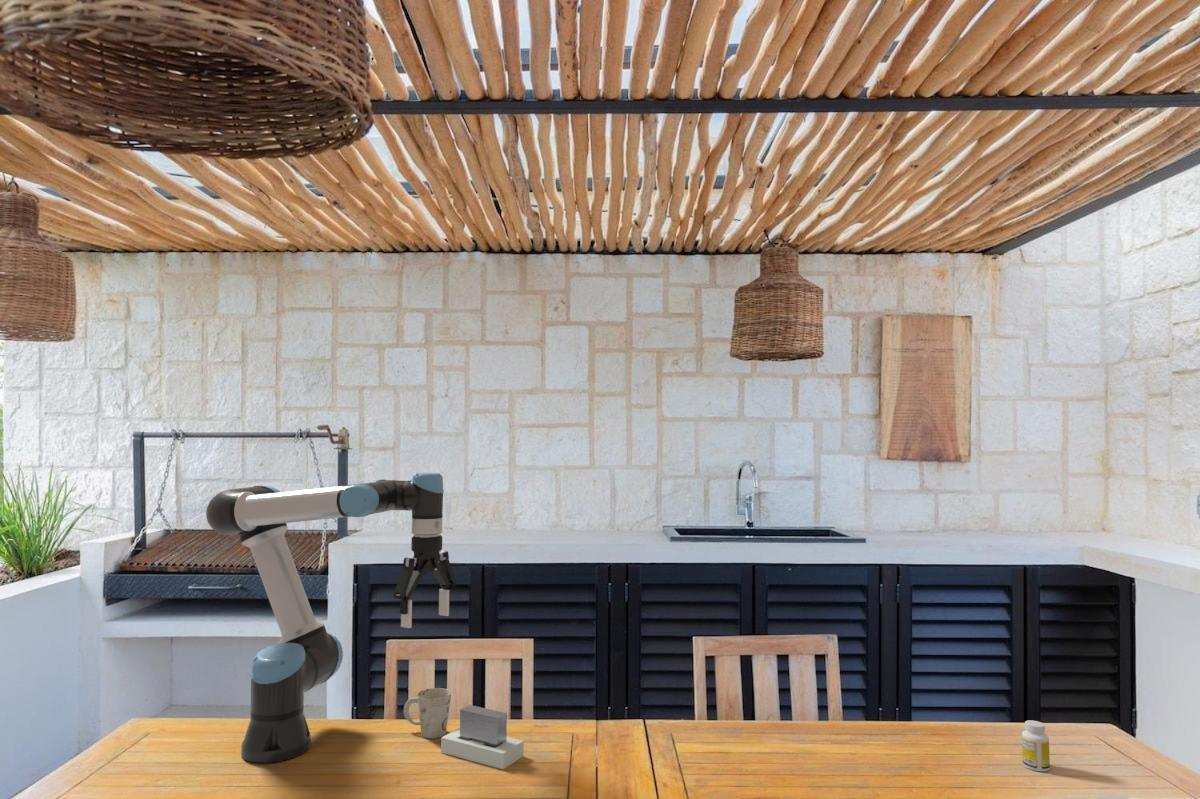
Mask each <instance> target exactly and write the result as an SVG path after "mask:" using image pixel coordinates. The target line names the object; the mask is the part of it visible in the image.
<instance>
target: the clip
mask: <svg viewBox="0 0 1200 799" xmlns="http://www.w3.org/2000/svg"><path fill="white" fill-rule="evenodd" d="M459 713H460V714H459V728H460V735H461V739H462V740H466V741H470V740H472V739H476V740H480V741H484V742H487V746H489V747H493V748H496V747H498V746H499V745H501V744H503V743H504V742H505V740H506V739H507V737H508V735H507V733H508V732H507V731H508V730H507V729H508V728H507V726H508V725H507V724H508V723H507V722H508V721H507V720H508V719H507V718H508V713H507V712H503V711H499V710H495V709H490V708H487V707H486V708H485V707H481V706H477V705H472V704H468V705H466V706H464V707H462V708H460V710H459Z"/></svg>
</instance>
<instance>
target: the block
mask: <svg viewBox="0 0 1200 799" xmlns="http://www.w3.org/2000/svg"><path fill="white" fill-rule="evenodd" d="M440 738H441V739H440V740H441V742H440V743H441V745H440V753H441V754H445V755H449V756H452V757H456V758H460V759H463V760H467V761H471V762H474V763H478V764H481V765H485V766H489V767H492V768H497V769H500V770H505V769H506V768H508V767H510V766H511V765H512V764H514V763H515V762H517V761H518V760H520V759H522V758H523V757H524V746H525V744H524V740H521V739H518V738H514V737H510V736H507V739H506V740H505V742H504V743H503V744H501V745H499V746H498V747H496V748H493V747H489V746H487V742H484V741H480V740H476V739H472V740H470V741H466V740H462V739H461V735H460V727H458V728H456V729H455V730H453V731H451V732H449V733H447V734H445V735H444V736H442V737H440Z"/></svg>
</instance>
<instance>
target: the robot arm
mask: <svg viewBox="0 0 1200 799" xmlns="http://www.w3.org/2000/svg"><path fill="white" fill-rule="evenodd" d="M443 503H444V479H443V475H442V474H441V473H439V472H416V473H415V472H414V473H413V475H412V478H411V480H397V479H396V480H394V479H377V480H376V479H375V480H374V479H373V480H371V481H369V482H365V483H355V484H348V485H338V486H336V485H335V486H328V487H327V486H326V487H318V488H307V489H300V490H298V489H297V490H288V491H280V490H279V489H277V488H276V487H273V486H267V485H254V486H249V487H241V488H231V489H230V488H229V489H225V490H223V491H220V492H219V493H216V495H214V496H213V497H212V498H211V500H210V501H209V503H208V504H207V507H206V511H205V512H206V513H205V516H206V520H207V523H208V525H209V526H210V528H211V529H212V530H213V531H215V533H218V534H220V535H224V536H238V538H239V540H240V543H241V545H242V546H243V547H247V548H249V550H250V552H251V555H252V557H253V560H254V562H255V565H256V568H257V572H258V573H259V576H260V579H261V581H262V582H261V583H262V584H263V587H264V590H265V593H266V596H267V598H268V602H269V604H270V606H271V609H272V612H273V615H274V618H275V620H276V623H277V625H278V628H279V631H280V634H281V638H280V640H279V642H278V643H277V644H276V645H270V646H267V647H264V648H263V649H261V650H259V652H257V653H256V654H255V655H254V657H253V659H252V664H251V670H250V677H251V678H250V679H251V680H250V686H251V687H250V720H249V723H248V725H247V729H246V733H245V736H244V739H243V741H242V742H241V751H240V753H241V755H240V756H241V757H242V759H243V760H245V761H248V762H250V763H255V764H256V763H258V764H267V763H276V762H283V761H287V760H290V759H293V758H296V757H299V756H300V755H302V754H304V753H306V752H307V751H308V750H309V749H310V748H311V740H312V738H311V737H312V736H311V732H310V729H309V725H308V722H307V719H306V716H305V714H304V710H305V708H304V705H305V693H306V692H307V693H308V691H310V690H312V689H314V688H315V687H317V686H319V685H321V684H323V683H326V682H327V681H328V680H330V679H331V678H333V676H334V675H335V674H336V673H337V672H339V669H340V667H341V664H342V663H343V657H344V651H343V646H342V644H341V642H340V640H339V639H338V637H336V635H335V636H334V635H333V634H332V633H329V632H328V631H327V628H326V626H325V624H324V623H322V622H321V621H317V620H316V617H315V615H314V613H313V612H314V611H313V610H312V607H311V605H310V602H309V599H308V596H307V593H306V591H305V588H304V586H303V582H302V579H301V577H300V574H299V572H298V569H297V566H296V563H295V562H294V558H293V555H292V553H291V550H290V548H289V545H288V542H287V540H286V536H285V534H286V532H287V529H288V528H289V526H288V525H287V524H289V523H297V522H309V521H311V522H312V521H318V520H319V521H321V520H331V519H338V518H350V517H351V518H362V517H363V518H364V517H367V516H370V515H374V514H379V513H384V512H389V511H409V512H411V534H412V535H413V536H411V547H410V548H411V551H412V552H413V557H404V558H403V564H402V569H401V573H400V575H399V578H398V580H397V584H396V586H395V589H394V593H393V595H392V598H393V599H396V600H399V614H400V628H404V629H411V628H412V627H413V626H412V624H413V619H412V617H413V614H412V613H413V600H412V599H411V596H412V595H413V593H414V591H415V589H416V588H417V585H418V583H419V582H420V580H421V578H423V576H424V575H427V574H428V573H432V574H433V576H434V578H435V579H436V581H437V583H438V584H439V586H440V587H441V588H439V590H438V592H439V593H438V616H442V617H444V616H445V617H448V616H449V617H450V600H451V590H452V591H453V590H454V588H455V586H456V585H457V581H456V580H457V579H456V577H455V574H454V572H453V571H454V570H453V568H452V565H451V561H450V557H449V556H450V555H449V551H446V550H443V536H442V535H441V534H442V533H443V514H444V513H443V508H444V507H443V506H444V504H443Z"/></svg>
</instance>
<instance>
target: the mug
mask: <svg viewBox="0 0 1200 799" xmlns="http://www.w3.org/2000/svg"><path fill="white" fill-rule="evenodd" d="M416 696H417V697H410V698H409V699H407V701H406V702H405V703H404V706H403V715H404V718H405V719H406V720H407V721H408V722H409V723H410V724H411V725H414V726H420V727H419V728H420V734H421V737H422V738H424V739H425V738H426V739H438V738H441V737H443V736H445V735H447V734H446V733H447V728H448V721H449V713H450V707H451V706H450V705H451V698H452V691H451V689H447V688H443V687H431V688H425V689H423V690H420V691H419V692H418V693H417V695H416ZM412 704H417V707H418V708H417V709H418V716H419V721H417V720H413V718H412V717H411V715H410V712H409V708H410V707H411V705H412Z"/></svg>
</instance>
